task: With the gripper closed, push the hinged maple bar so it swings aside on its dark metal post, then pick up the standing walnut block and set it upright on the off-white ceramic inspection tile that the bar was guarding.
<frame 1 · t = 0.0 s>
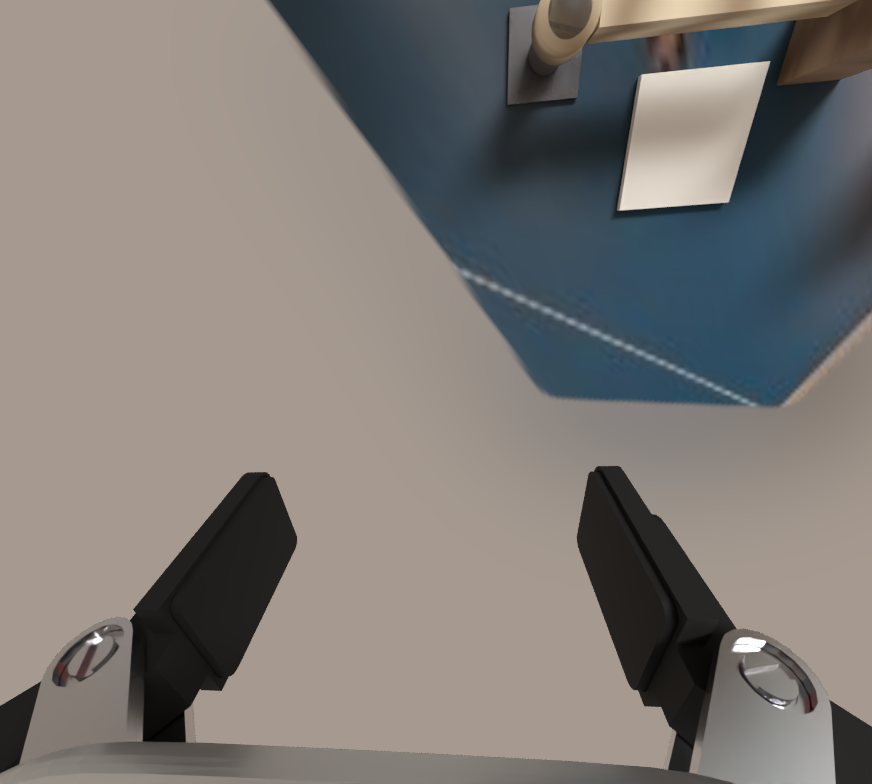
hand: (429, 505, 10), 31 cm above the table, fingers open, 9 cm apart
swing arm: (670, 20, 24), point 4 cm above the table, hinge at 0.0°
walnut block: (821, 42, 27), on the table
pivot plate: (544, 56, 28), on the table
inspection tile: (683, 143, 30), on the table
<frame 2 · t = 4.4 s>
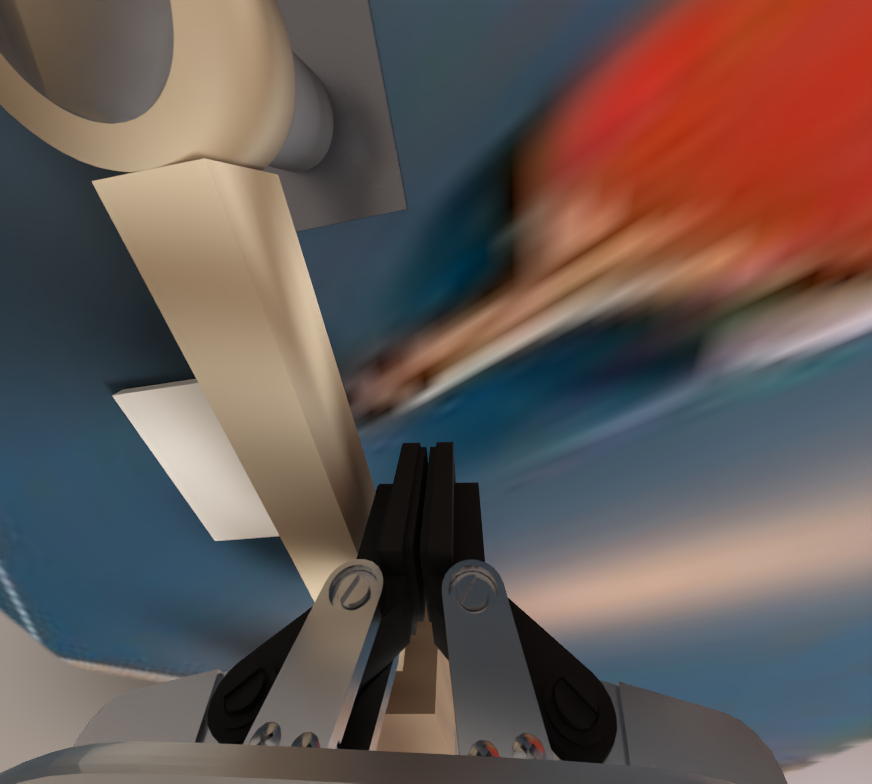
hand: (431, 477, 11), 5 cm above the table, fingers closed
swing arm: (328, 399, 11), point 4 cm above the table, hinge at 1.6°, touching gripper
walnut block: (409, 562, 21), on the table
pivot plate: (297, 122, 11), on the table
inspection tile: (262, 460, 17), on the table
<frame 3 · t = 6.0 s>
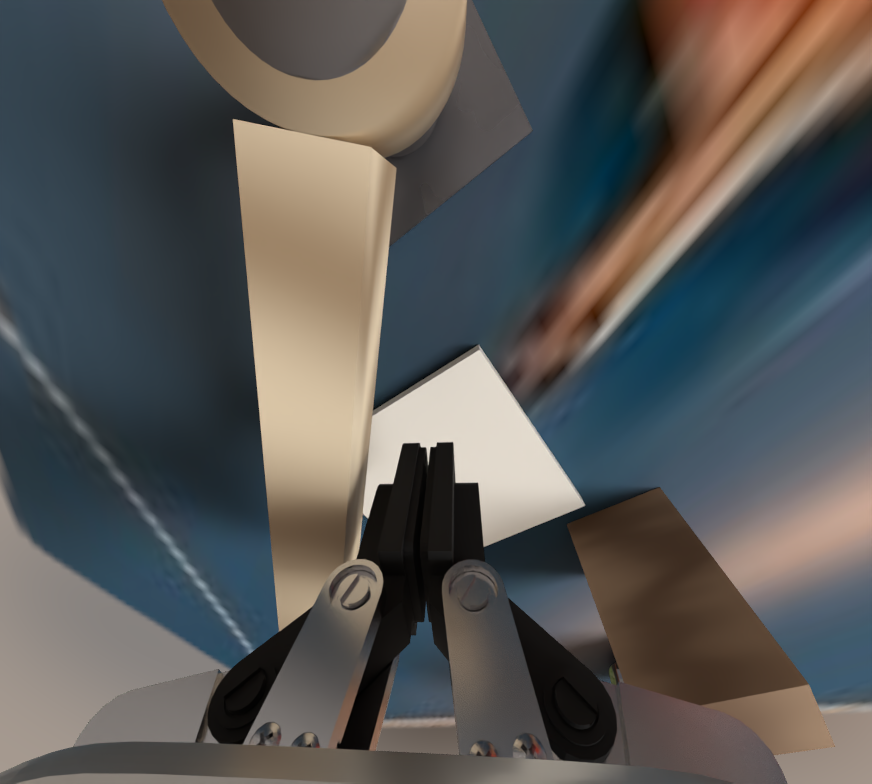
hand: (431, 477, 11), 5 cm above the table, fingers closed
swing arm: (347, 390, 10), point 4 cm above the table, hinge at 45.2°, touching gripper
walnut block: (628, 534, 18), on the table
pivot plate: (396, 105, 10), on the table
inspection tile: (446, 474, 17), on the table
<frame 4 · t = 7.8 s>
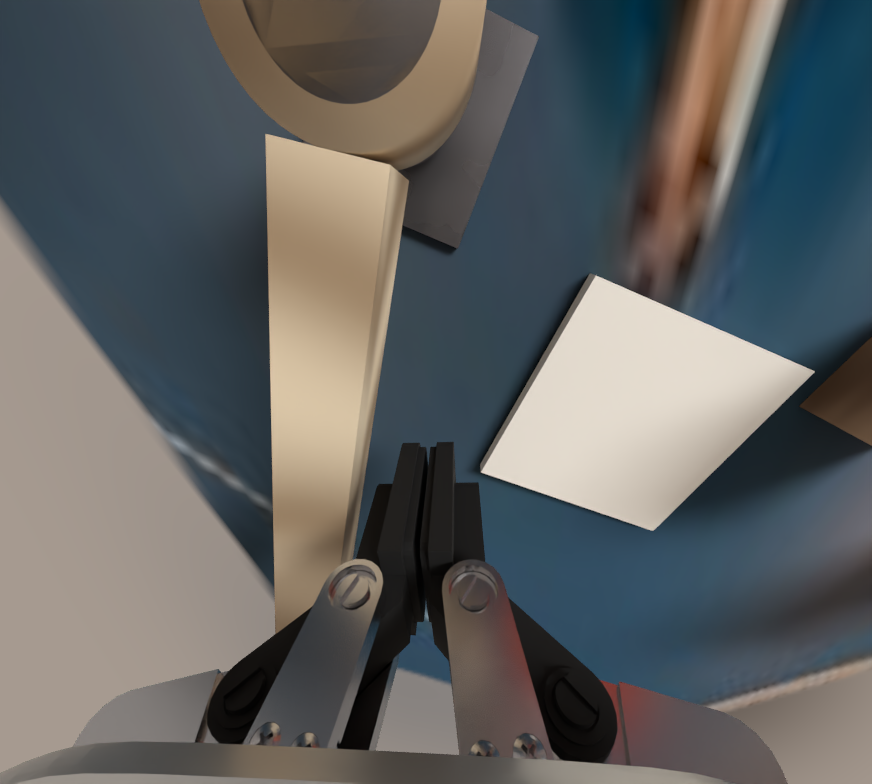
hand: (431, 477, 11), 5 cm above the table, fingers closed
swing arm: (350, 387, 11), point 4 cm above the table, hinge at 81.1°
pivot plate: (407, 117, 11), on the table
inspection tile: (623, 420, 15), on the table
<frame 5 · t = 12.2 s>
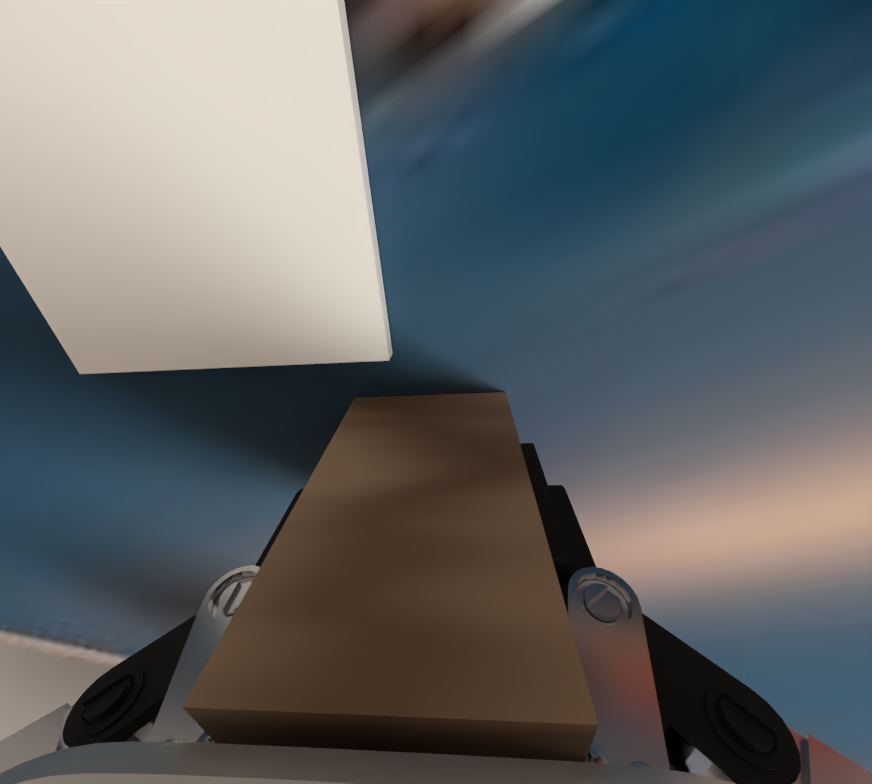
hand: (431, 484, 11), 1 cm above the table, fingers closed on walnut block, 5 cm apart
walnut block: (434, 455, 12), on the table, touching gripper
inspection tile: (172, 176, 8), on the table
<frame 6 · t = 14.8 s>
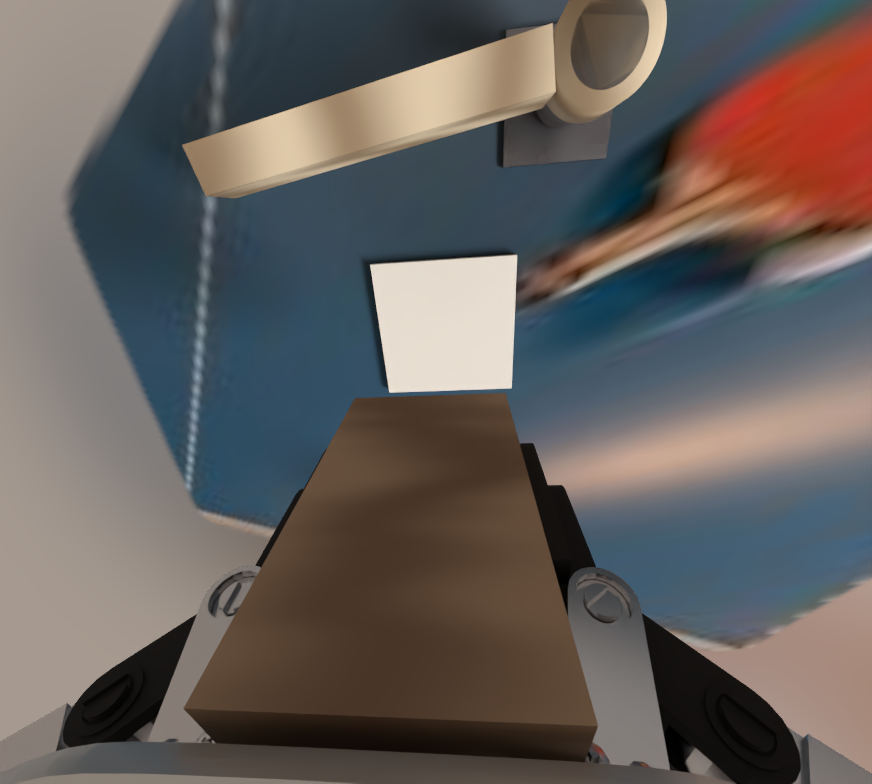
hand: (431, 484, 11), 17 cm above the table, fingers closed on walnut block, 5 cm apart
swing arm: (413, 124, 17), point 4 cm above the table, hinge at 81.1°
walnut block: (434, 455, 12), point 15 cm above the table, touching gripper
pivot plate: (557, 99, 19), on the table
inspection tile: (446, 328, 25), on the table
when the fingers open (3 cm above the table, at t = 17.5 s): walnut block stays where it is, resting on inspection tile.
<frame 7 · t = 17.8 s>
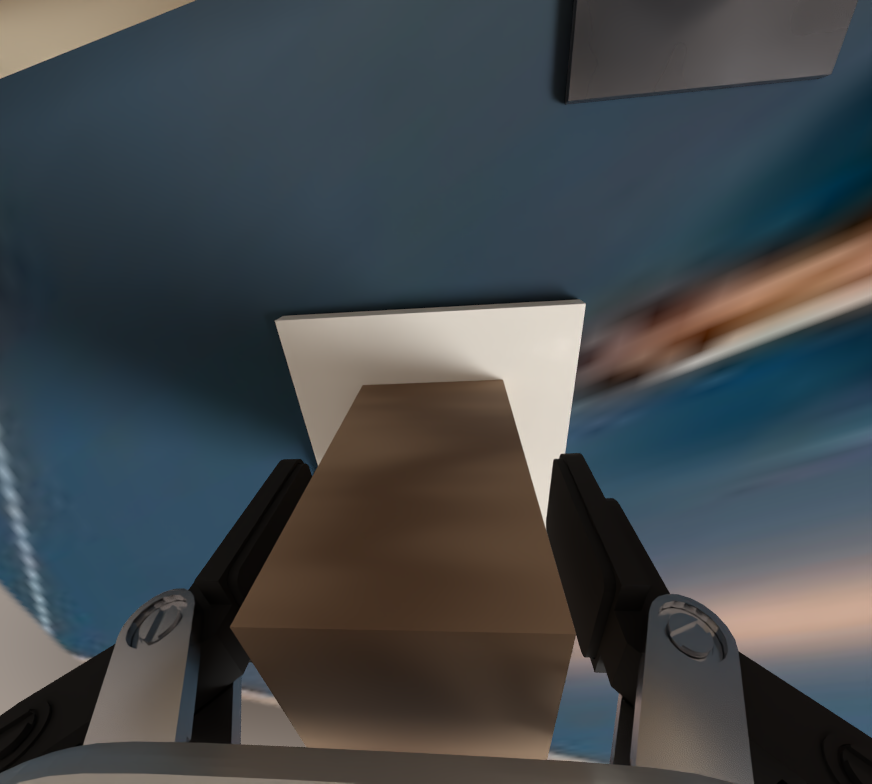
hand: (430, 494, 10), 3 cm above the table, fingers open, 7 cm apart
walnut block: (436, 439, 13), point 1 cm above the table, touching inspection tile
inspection tile: (436, 431, 14), on the table
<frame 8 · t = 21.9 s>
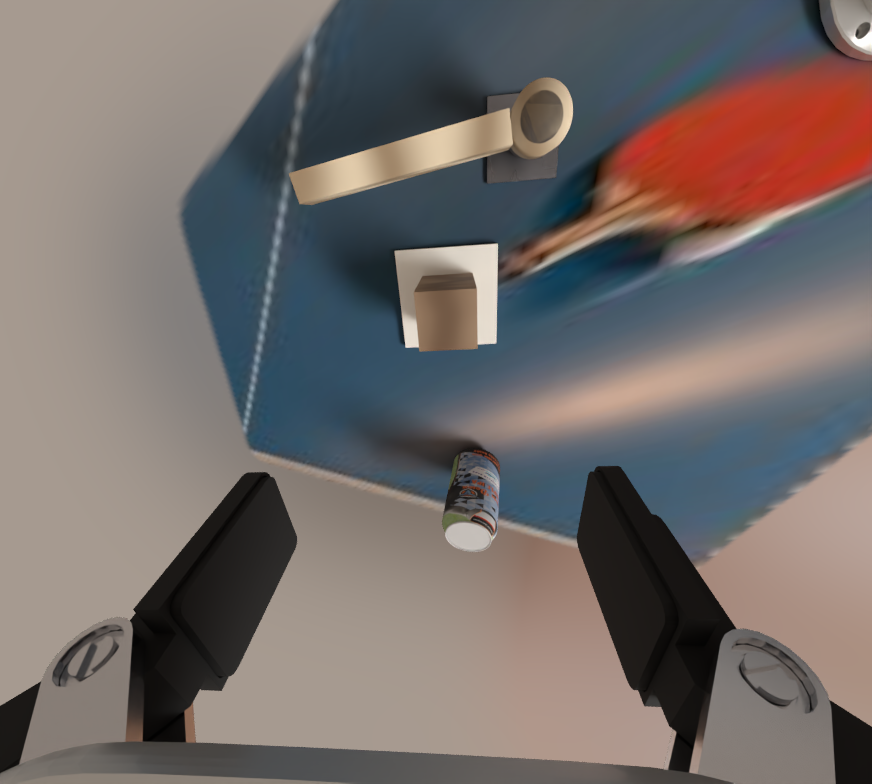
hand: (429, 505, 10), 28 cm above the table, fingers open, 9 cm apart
swing arm: (428, 158, 26), point 4 cm above the table, hinge at 81.1°
walnut block: (448, 299, 34), point 1 cm above the table, touching inspection tile
beverage can: (471, 461, 45), on the table
pivot plate: (522, 139, 28), on the table
inspection tile: (448, 298, 35), on the table
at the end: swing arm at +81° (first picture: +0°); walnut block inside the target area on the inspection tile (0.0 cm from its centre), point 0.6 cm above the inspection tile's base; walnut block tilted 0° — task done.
